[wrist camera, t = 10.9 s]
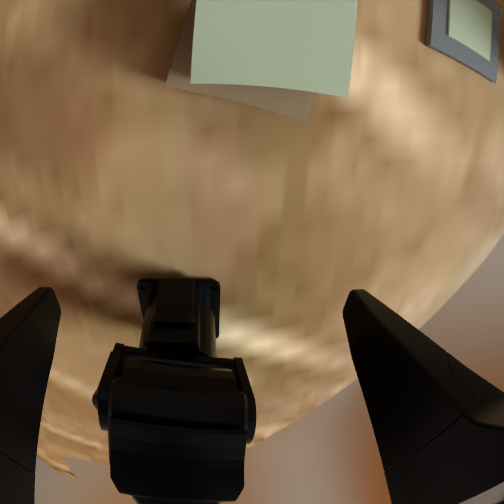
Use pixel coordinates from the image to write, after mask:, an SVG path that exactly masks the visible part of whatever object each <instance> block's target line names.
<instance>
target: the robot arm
mask: <svg viewBox="0 0 504 504" xmlns="http://www.w3.org/2000/svg"><path fill="white" fill-rule="evenodd" d="M142 285H145V286H146V287H143V286H142ZM212 286H216V287H215V288H212ZM137 290H138V295H139V300H140V305H141V310H142V315H143V319H144V322H143V327H142V333H141V339H140V344H139V348H136V347H130V346H124V344H120V343H116V344H115V347H114V349H113V351H111V353H110V355H109V358H108V361H107V364H106V366H105V369H104V372H103V375H102V377H101V380H100V383H99V386H98V388H97V390H96V391H95V393H94V394H93V398H92V402H93V405H94V406H95V407H96V409H97V410H98V416H99V423H100V427H101V429H102V430H105V431H108V439H109V461H110V471H111V472H110V476H111V479H112V481H113V483H114V485H115V486H116V488H117V490H118V491H119V492H120V493H122V494H127V495H131V496H132V497H133V499H134V500H135V501H136V502H137V504H220V503H221V502H224V501H225V502H227V501H236V500H237V498H238V496H239V495H240V493H241V492H242V490H243V488H244V458H245V449H246V444H249V443H250V442H251V441H252V439H253V437H254V433H255V428H256V404H255V398H254V395H253V392H252V388H251V385H250V382H249V379H248V376H247V373H246V370H245V367H244V363H243V360H242V358H233V359H231V358H218V357H216V338H218V337H219V314H220V283H219V282H218V281H215V280H155V279H141V280H139V281H138V284H137ZM60 316H61V309H60V305H59V303H58V300H57V298H56V295H55V293H54V290H53V289H52V288H51V287H39V288H38V289H37V290H35V291H34V292H33V293H31V294H30V295H29V296H27V297H26V298H25V299H24V300H22V301H21V302H20V303H18V304H17V305H16V306H15V307H13V308H12V309H11V310H10V311H8V312H7V313H6V314H5V315H4V316H2V317H1V318H0V504H34V490H35V467H36V455H37V445H38V436H39V428H40V422H41V415H42V409H43V403H44V398H45V393H46V388H47V383H48V378H49V374H50V369H51V365H52V361H53V356H54V350H55V344H56V338H57V332H58V326H59V321H60ZM343 319H344V324H345V328H346V333H347V337H348V342H349V347H350V352H351V356H352V360H353V363H354V367H355V370H356V373H357V376H358V379H359V383H360V386H361V389H362V392H363V396H364V399H365V402H366V406H367V409H368V413H369V416H370V419H371V423H372V427H373V430H374V434H375V438H376V441H377V445H378V449H379V453H380V456H381V460H382V464H383V468H384V471H385V472H384V473H385V477H386V481H387V486H388V490H389V494H390V498H391V503H392V504H504V392H503V391H501V390H500V389H498V388H497V387H495V386H494V385H492V384H491V383H489V382H488V381H486V380H485V379H483V378H482V377H480V376H479V375H478V374H476V373H474V372H473V371H472V370H470V369H469V368H467V367H466V366H465V365H463V364H462V363H461V362H460V361H458V360H457V359H456V358H454V357H453V356H452V355H451V354H449V353H448V352H447V353H446V351H445V350H444V349H443V348H441V347H440V346H439V345H438V344H436V343H435V342H434V341H432V340H431V339H430V338H429V337H427V336H426V335H424V334H423V333H422V332H421V331H419V330H418V329H417V328H415V327H414V326H413V325H411V324H410V323H409V322H407V321H406V320H405V319H403V318H402V317H401V316H399V315H398V314H397V313H395V312H394V311H393V310H391V309H390V308H389V307H387V306H386V305H385V304H383V303H382V302H380V301H379V300H378V299H376V298H375V297H374V296H372V295H371V294H370V293H368V292H367V291H365V290H363V289H355V290H351V291H350V293H349V295H348V298H347V300H346V303H345V306H344V308H343Z"/></svg>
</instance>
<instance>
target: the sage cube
mask: <svg viewBox="0 0 504 504" xmlns="http://www.w3.org/2000/svg"><path fill="white" fill-rule="evenodd" d="M357 4H358V0H197V2H196V12H195V23H194V35H193V48H192V64H191V83H190V84H235V85H253V86H266V87H276V88H286V89H294V90H302V91H309V92H316V93H322V94H328V95H334V96H340V97H345V98H347V97H348V90H349V83H350V75H351V67H352V58H353V49H354V39H355V29H356V17H357Z"/></svg>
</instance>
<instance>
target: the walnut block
mask: <svg viewBox="0 0 504 504" xmlns="http://www.w3.org/2000/svg"><path fill="white" fill-rule="evenodd" d="M196 2H197V0H192V1H191V4H190V7H189V9H188V12H187V15H186V18H185V21H184V24H183V27H182V30H181V33H180V36H179V39H178V42H177V46H176V49H175V52H174V56H173V59H172V63H171V66H170V70H169V73H168V77H167V81H166V85H165V87H168V88H174V89H180V90H185V91H190V92H195V93H200V94H205V95H210V96H214V97H219V98H223V99H227V100H231V101H235V102H239V103H243V104H247V105H251V106H254V107H258V108H261V109H265V110H268V111H272V112H275V113H278V114H282V115H285V116H288V117H291V118H294V119H297V120H300V121H303V122H307V119H308V116H309V113H310V110H311V108H312V105H313V102H314V99H315V96H316V94H317V93H316V92H309V91H302V90H294V89H286V88H276V87H266V86H253V85H235V84H190V83H191V64H192V48H193V35H194V23H195V12H196Z"/></svg>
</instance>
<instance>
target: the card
mask: <svg viewBox="0 0 504 504" xmlns="http://www.w3.org/2000/svg"><path fill="white" fill-rule="evenodd" d="M499 45H500V6H499V5H498V4H497V3H495V2H494V1H493V0H429V1H428V20H427V33H426V44H425V46H427V47H429V48H432V49H434V50H436V51H438V52H440V53H442V54H444V55H446V56H448V57H450V58H452V59H453V60H455V61H457V62H459V63H461V64H463V65H464V66H466V67H468V68H470V69H471V70H473V71H475V72H476V73H478V74H480V75H481V76H483V77H484V78H486V79H488V80H489V81H491V82H494V83H496V79H497V70H498V59H499Z"/></svg>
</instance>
